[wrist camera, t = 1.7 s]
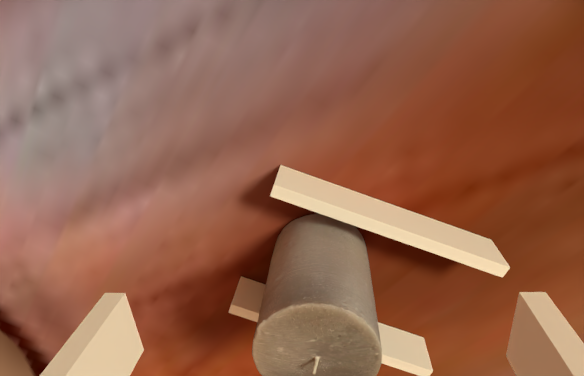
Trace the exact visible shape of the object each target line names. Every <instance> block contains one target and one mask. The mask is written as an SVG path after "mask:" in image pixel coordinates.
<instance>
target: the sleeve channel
mask: <svg viewBox="0 0 584 376" xmlns="http://www.w3.org/2000/svg"><path fill="white" fill-rule="evenodd" d="M270 196H271V197H273V198H276V199H279V200H282V201H285V202H288V203H291V204H293V205H296V206H299V207H302V208H305V209H308V210H311V211H314V212H316V213H319V214H322V215H325V216H328V217H331V218H334V219H336V220H339V221H342V222H345V223H348V224H351V225H354V226H356V227H359V228H362V229H365V230H368V231H371V232H374V233H376V234H379V235H382V236H385V237H388V238H391V239H394V240H396V241H399V242H402V243H405V244H408V245H411V246H414V247H416V248H419V249H422V250H425V251H428V252H431V253H434V254H436V255H439V256H442V257H445V258H448V259H451V260H454V261H456V262H459V263H462V264H465V265H468V266H471V267H474V268H476V269H479V270H482V271H485V272H488V273H491V274H494V275H497V276H499V277H502V278H503V276H504V275H505V274H506V272H507V271H508V270H509V268H510V266H509V265H508V263H507V262H506V261H505V259H504V258H503V256H502V255H501V253H500V252H499V250H498V249H497V247H496V246H495V244H494V243H493V241H492V240H491V239H488V238H485V237H482V236H479V235H477V234H474V233H471V232H468V231H465V230H463V229H460V228H457V227H454V226H451V225H448V224H446V223H443V222H440V221H437V220H434V219H432V218H429V217H426V216H423V215H420V214H417V213H415V212H412V211H409V210H406V209H403V208H401V207H398V206H395V205H392V204H389V203H386V202H384V201H381V200H378V199H375V198H372V197H370V196H367V195H364V194H361V193H358V192H355V191H353V190H350V189H347V188H344V187H341V186H339V185H336V184H333V183H330V182H327V181H325V180H322V179H319V178H316V177H313V176H310V175H308V174H305V173H302V172H299V171H296V170H294V169H291V168H288V167H285V166H282V165H280V168H279V171H278V173H277V176H276V179H275V182H274V185H273V188H272V191H271V194H270ZM265 286H266V284H263V283H260V282H257V281H254V280H251V279H248V278H245V277H242V276H241V277H240V280H239V283H238V286H237V288H236V291H235V294H234V297H233V300H232V303H231V306H230V309H229V312H228V313H231V314H234V315H237V316H240V317H243V318H246V319H249V320H252V321H255V322H258V318H259V313H260V308H261V304H262V300H263V295H264V291H265ZM378 327H379V334H380V341H381V348H382V362H381V363H382V364H385V365H388V366H392V367H395V368H398V369H401V370H404V371H407V372H410V373H413V374H416V375H419V376H430V374H431V373H432V372H433V369H432V366H431V362H430V358H429V355H428V351H427V347H426V344H425V340H424V338H423V337H420V336H417V335H415V334H412V333H409V332H406V331H403V330H400V329H397V328H394V327H391V326H388V325H385V324H382V323H379V322H378Z"/></svg>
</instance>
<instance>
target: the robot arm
mask: <svg viewBox="0 0 584 376" xmlns="http://www.w3.org/2000/svg"><path fill="white" fill-rule="evenodd" d="M143 351H144V349H143V346H142V342H141V339H140V336H139V333H138V330H137V327H136V324H135V321H134V318H133V315H132V312H131V309H130V306H129V303H128V300H127V297H126V294H125V293H104V295H103V296H102V297H101V298H100V300H99V301H98V302H97V304H96V305H95V306H94V307H93V309H92V310H91V311H90V312H89V314H88V315H87V316H86V318H85V319H84V320H83V321H82V323H81V324H80V325H79V326H78V328H77V329H76V330H75V331H74V333H73V334H72V335H71V337H70V338H69V339H68V340H67V342H66V343H65V344H64V345H63V347H62V348H61V349H60V351H59V352H58V353H57V354H56V356H55V357H54V358H53V359H52V361H51V362H50V363H49V364H48V366H47V367H46V368H45V370H44V371H43V372H42V373H41V375H40V376H130V374H131V373H132V371H133V369H134V367H135V365H136V363H137V362H138V360H139V358H140V356H141V354H142V352H143ZM506 356H507V358H508V361H509V363H510V365H511V367H512V369H513V371H514V373H515V375H516V376H584V343H583V342H582V341H581V339H580V338H579V337H578V335H577V334H576V333H575V331H574V330H573V329H572V327H571V326H570V324H569V323H568V322H567V320H566V319H565V318H564V316H563V315H562V314H561V312H560V311H559V310H558V308H557V307H556V306H555V304H554V303H553V302H552V300H551V299H550V297H549V296H548V295H547V293H546V292H519V296H518V301H517V306H516V311H515V315H514V320H513V325H512V330H511V335H510V340H509V344H508V349H507V354H506Z"/></svg>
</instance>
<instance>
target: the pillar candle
mask: <svg viewBox="0 0 584 376" xmlns="http://www.w3.org/2000/svg"><path fill="white" fill-rule="evenodd" d="M252 355H253V358H254V362H255V364H256V367H257V369H258V371H259V373H260V374H261V375H262V376H376V375H377V373H378V371H379V369H380V366H381V362H382V348H381V341H380V334H379V327H378V321H377V314H376V308H375V301H374V295H373V288H372V282H371V274H370V268H369V261H368V255H367V248H366V244H365V241H364V238H363V236H362V235H361V233H360V232H359V230H358V229H357V228H356V227H355V226H354V225H351V224H348V223H345V222H342V221H339V220H336V219H334V218H331V217H328V216H325V215H322V214H319V213H316V214H311V215H306V216H303V217H300V218H297V219H295V220H293V221H291V222H290V223H289V224H287V225H286V226H285V227H284V228H283V230H282V231H281V233H280V234H279V236H278V238H277V241H276V244H275V247H274V251H273V254H272V259H271V262H270V268H269V273H268V277H267V282H266V286H265V291H264V295H263V300H262V304H261V308H260V313H259V318H258V322H257V326H256V331H255V334H254V339H253V347H252Z"/></svg>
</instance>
